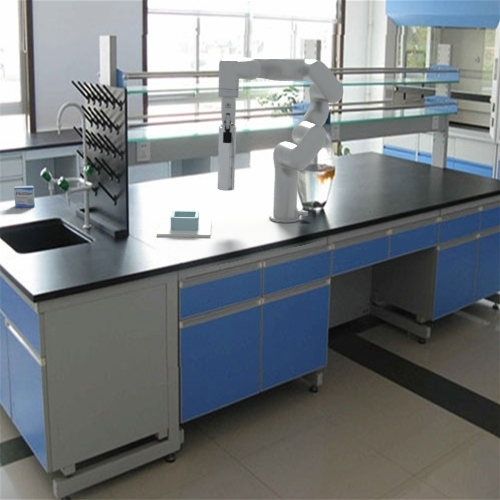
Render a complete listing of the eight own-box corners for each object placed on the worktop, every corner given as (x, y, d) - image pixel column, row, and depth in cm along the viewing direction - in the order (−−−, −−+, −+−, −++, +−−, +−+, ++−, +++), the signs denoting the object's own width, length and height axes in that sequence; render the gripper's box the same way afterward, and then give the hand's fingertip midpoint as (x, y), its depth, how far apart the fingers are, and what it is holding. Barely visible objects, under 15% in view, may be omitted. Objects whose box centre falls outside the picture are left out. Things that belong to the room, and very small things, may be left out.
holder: (211, 222, 290) (211, 208, 288) (210, 237, 271) (210, 221, 269) (161, 221, 289) (161, 207, 287) (156, 236, 270) (156, 221, 268)
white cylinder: (234, 187, 283) (236, 123, 276) (234, 191, 277) (236, 125, 270) (217, 186, 283) (219, 122, 276) (217, 190, 277) (219, 125, 269)
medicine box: (15, 208, 302) (13, 188, 300) (15, 205, 307) (14, 185, 304) (34, 207, 304) (33, 187, 302) (35, 204, 309) (33, 184, 306)
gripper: (239, 96, 261) (237, 145, 266) (238, 91, 277) (236, 138, 283) (218, 95, 261) (217, 144, 266) (218, 90, 277) (217, 137, 283)
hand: (227, 140), depth 274 cm, fingers closed on white cylinder, 6 cm apart
